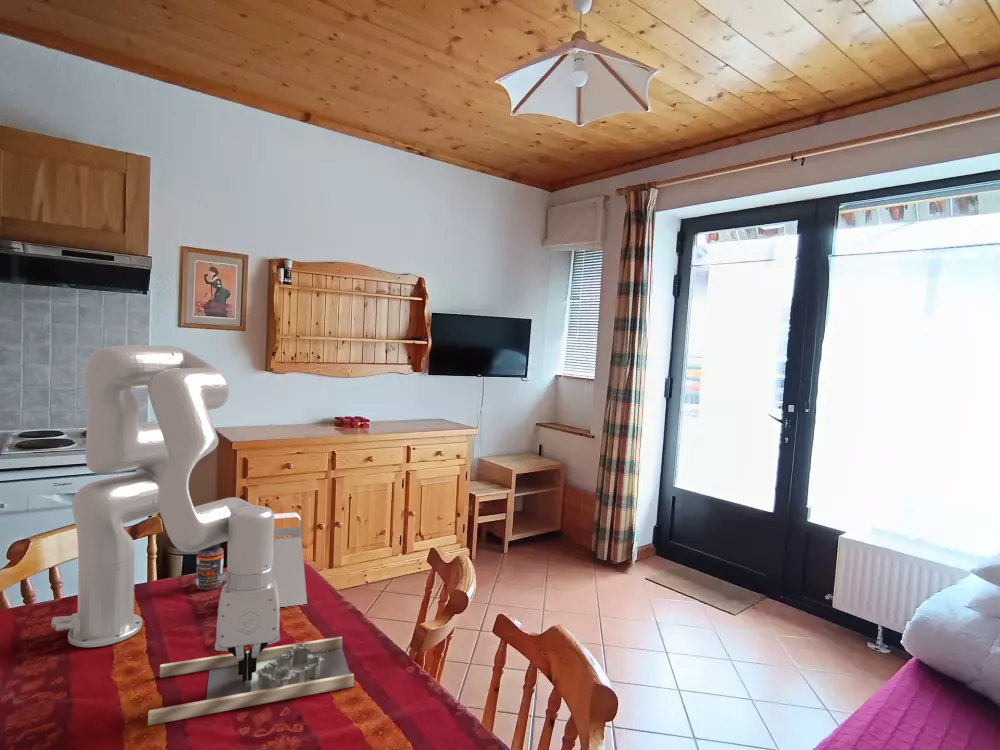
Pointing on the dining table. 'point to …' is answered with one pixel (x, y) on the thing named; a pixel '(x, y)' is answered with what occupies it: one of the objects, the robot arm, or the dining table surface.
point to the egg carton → (289, 668)
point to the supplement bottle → (209, 567)
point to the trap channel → (253, 681)
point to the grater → (289, 564)
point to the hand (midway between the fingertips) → (247, 676)
